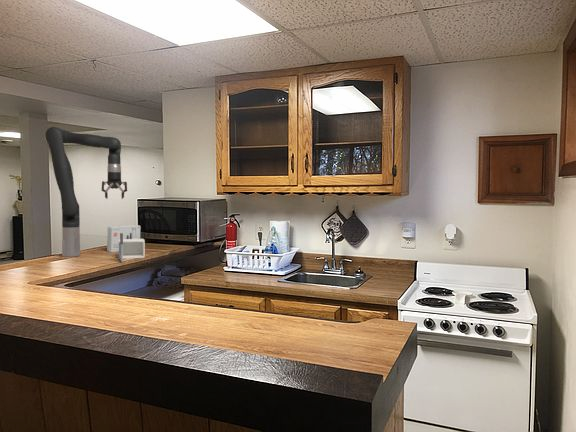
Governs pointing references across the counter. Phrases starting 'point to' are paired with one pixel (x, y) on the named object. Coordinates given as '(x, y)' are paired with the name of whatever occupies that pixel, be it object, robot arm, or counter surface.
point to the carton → (133, 248)
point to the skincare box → (114, 235)
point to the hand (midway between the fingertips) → (114, 198)
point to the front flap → (121, 247)
